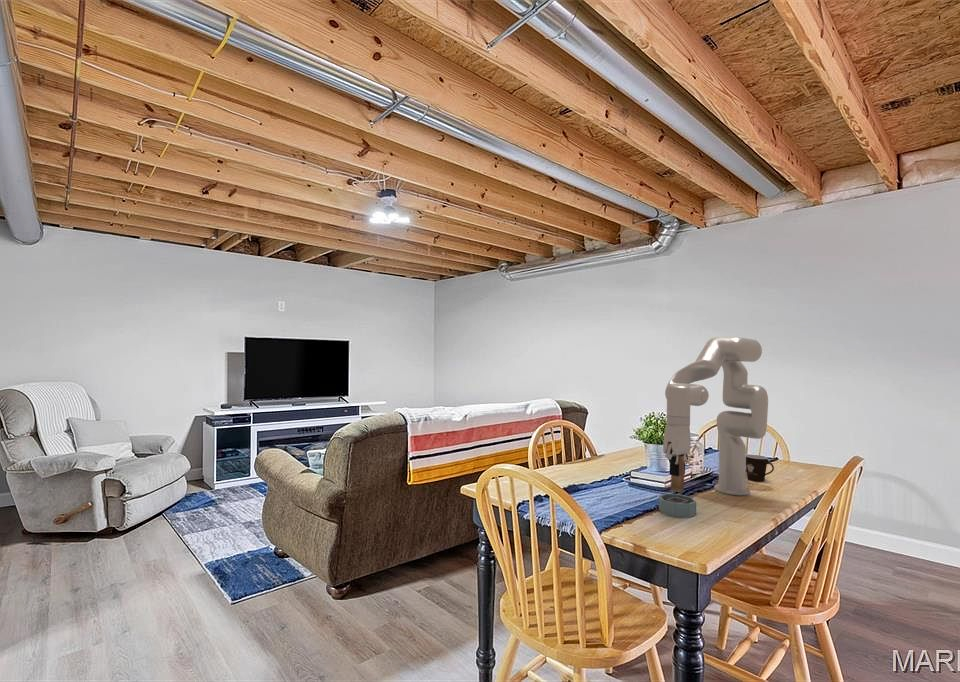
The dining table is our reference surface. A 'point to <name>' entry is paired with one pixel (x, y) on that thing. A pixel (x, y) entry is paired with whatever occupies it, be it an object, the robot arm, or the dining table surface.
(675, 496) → the octagonal socket dish
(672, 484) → the wood grain block
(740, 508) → the dining table surface
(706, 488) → the dining table surface
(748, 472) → the coffee mug
